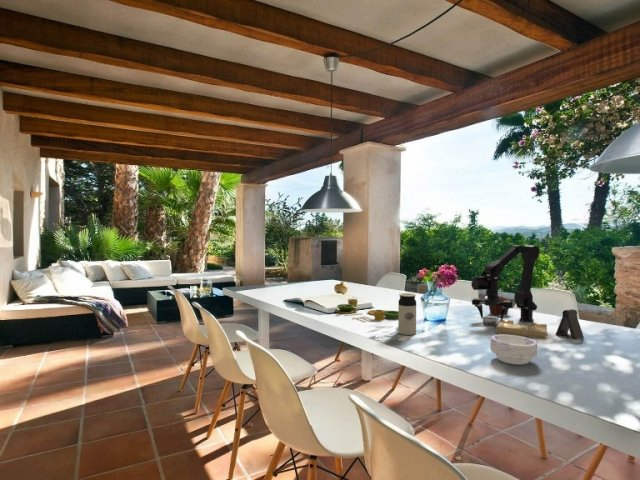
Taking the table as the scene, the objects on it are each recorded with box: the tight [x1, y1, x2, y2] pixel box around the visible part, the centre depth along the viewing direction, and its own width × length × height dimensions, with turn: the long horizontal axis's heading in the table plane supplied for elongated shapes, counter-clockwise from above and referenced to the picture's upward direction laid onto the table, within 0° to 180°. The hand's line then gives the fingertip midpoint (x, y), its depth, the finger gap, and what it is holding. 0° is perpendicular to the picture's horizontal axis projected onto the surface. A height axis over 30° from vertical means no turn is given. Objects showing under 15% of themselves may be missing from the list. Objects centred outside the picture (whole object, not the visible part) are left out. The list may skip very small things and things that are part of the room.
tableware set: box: [334, 298, 398, 323], centre depth 233 cm, size 41×28×6 cm
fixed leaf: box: [495, 319, 548, 339], centre depth 189 cm, size 14×20×4 cm
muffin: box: [488, 295, 509, 316], centre depth 232 cm, size 12×11×10 cm
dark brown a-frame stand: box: [555, 308, 585, 341], centre depth 182 cm, size 9×6×12 cm, turn 26°
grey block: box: [482, 315, 500, 327], centre depth 207 cm, size 10×6×4 cm, turn 149°
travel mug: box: [397, 292, 417, 336], centre depth 187 cm, size 8×8×18 cm
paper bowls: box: [490, 334, 538, 366], centre depth 148 cm, size 15×15×8 cm
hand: (491, 319), depth 210 cm, fingers open, 9 cm apart
